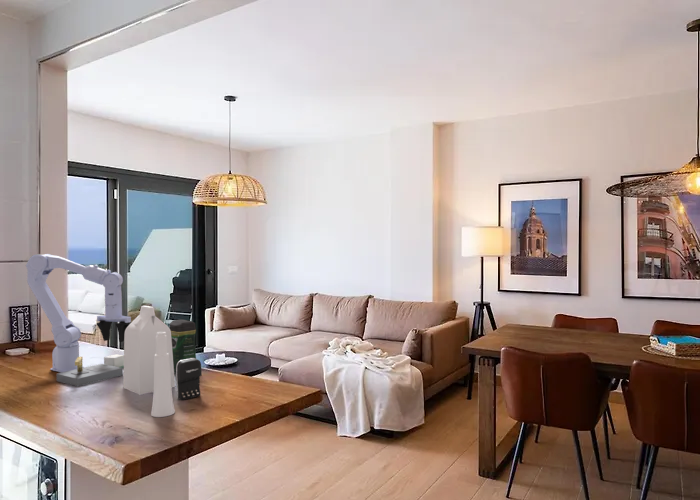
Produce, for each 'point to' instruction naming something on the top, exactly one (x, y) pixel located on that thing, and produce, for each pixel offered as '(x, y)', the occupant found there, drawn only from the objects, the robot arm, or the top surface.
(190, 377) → the battery charger
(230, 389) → the top surface
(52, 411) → the top surface
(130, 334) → the milk
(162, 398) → the cosmetic bottle
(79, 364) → the brass lever handle
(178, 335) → the coffee jar
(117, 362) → the white square block
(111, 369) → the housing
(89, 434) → the top surface
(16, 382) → the top surface
